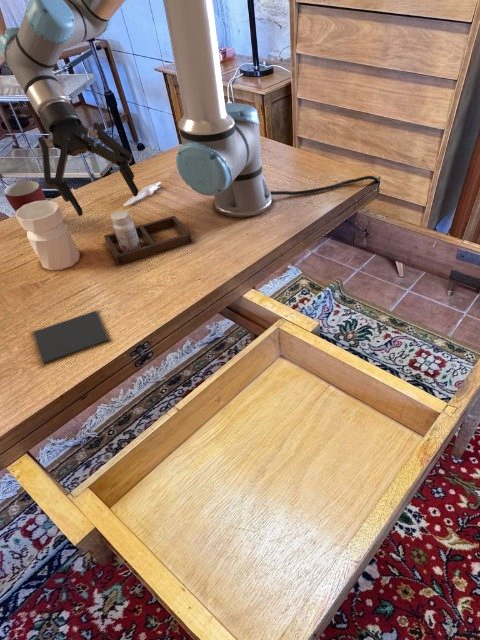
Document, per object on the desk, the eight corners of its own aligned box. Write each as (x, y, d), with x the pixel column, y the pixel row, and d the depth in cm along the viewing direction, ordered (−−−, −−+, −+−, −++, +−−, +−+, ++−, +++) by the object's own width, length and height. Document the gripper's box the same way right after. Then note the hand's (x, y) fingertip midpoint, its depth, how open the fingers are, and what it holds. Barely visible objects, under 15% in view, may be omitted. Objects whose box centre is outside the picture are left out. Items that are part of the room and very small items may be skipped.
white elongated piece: (157, 185, 127) (156, 178, 126) (164, 187, 126) (163, 180, 125) (120, 207, 119) (117, 201, 117) (127, 210, 118) (124, 203, 117)
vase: (36, 271, 100) (8, 221, 91) (48, 249, 106) (23, 200, 97) (74, 269, 100) (50, 219, 91) (85, 248, 106) (63, 199, 97)
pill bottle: (117, 248, 106) (104, 215, 99) (133, 240, 108) (122, 207, 102) (128, 256, 104) (116, 222, 97) (145, 247, 106) (134, 213, 99)
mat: (95, 312, 91) (95, 311, 90) (108, 340, 85) (108, 339, 85) (34, 333, 87) (33, 331, 86) (44, 364, 81) (43, 362, 81)
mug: (10, 229, 112) (-12, 190, 105) (35, 215, 117) (16, 176, 109) (40, 238, 109) (20, 198, 102) (64, 223, 114) (47, 184, 106)
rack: (176, 222, 113) (174, 215, 112) (192, 242, 107) (190, 234, 106) (106, 243, 108) (103, 235, 106) (119, 265, 101) (116, 257, 100)
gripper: (107, 108, 105) (155, 193, 109) (-1, 136, 95) (56, 228, 99) (109, 87, 98) (160, 178, 102) (-7, 114, 88) (54, 214, 92)
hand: (109, 203), depth 101 cm, fingers open, 13 cm apart
